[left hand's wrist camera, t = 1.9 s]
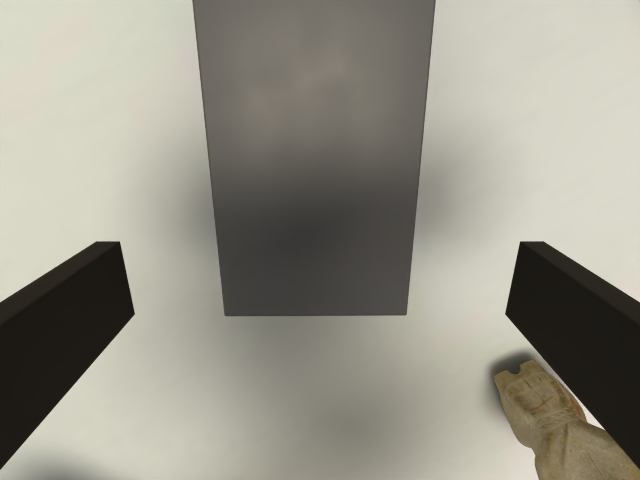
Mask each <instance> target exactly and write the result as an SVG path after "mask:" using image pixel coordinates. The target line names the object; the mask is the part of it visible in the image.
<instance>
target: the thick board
mask: <svg viewBox="0 0 640 480" xmlns="http://www.w3.org/2000/svg"><path fill="white" fill-rule="evenodd" d="M192 1H193V10H194V20H195V30H196V40H197V50H198V59H199V69H200V79H201V89H202V99H203V108H204V118H205V128H206V138H207V148H208V157H209V167H210V177H211V187H212V197H213V206H214V216H215V226H216V236H217V246H218V255H219V265H220V275H221V285H222V295H223V304H224V314H225V316H369V315H406V314H407V304H408V293H409V283H410V272H411V261H412V250H413V239H414V228H415V218H416V207H417V196H418V185H419V174H420V164H421V153H422V142H423V131H424V120H425V109H426V99H427V88H428V77H429V66H430V55H431V44H432V34H433V23H434V12H435V1H436V0H192Z"/></svg>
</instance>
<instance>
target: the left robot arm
mask: <svg viewBox="0 0 640 480" xmlns="http://www.w3.org/2000/svg"><path fill="white" fill-rule="evenodd" d="M134 314H135V313H134V308H133V303H132V298H131V293H130V288H129V284H128V279H127V274H126V269H125V264H124V259H123V255H122V250H121V245H120V242H95V243H93V244H92V245H90V246H89V247H87V248H85V249H84V250H82V251H81V252H79V253H78V254H76V255H74V256H73V257H71V258H70V259H68V260H66V261H65V262H63V263H62V264H60V265H59V266H57V267H55V268H54V269H52V270H51V271H49V272H48V273H46V274H44V275H43V276H41V277H40V278H38V279H36V280H35V281H33V282H32V283H30V284H29V285H27V286H25V287H24V288H22V289H21V290H19V291H18V292H16V293H14V294H13V295H11V296H10V297H8V298H7V299H5V300H3V301H2V302H0V469H1V468H2V467H3V466H4V465H5V464H6V463H7V461H8V460H9V459H10V458H11V457H12V456H13V454H14V453H15V452H16V451H17V450H18V449H19V448H20V446H21V445H22V444H23V443H24V442H25V441H26V439H27V438H28V437H29V436H30V435H31V434H32V432H33V431H34V430H35V429H36V428H37V427H38V426H39V424H40V423H41V422H42V421H43V420H44V419H45V417H46V416H47V415H48V414H49V413H50V412H51V411H52V409H53V408H54V407H55V406H56V405H57V404H58V402H59V401H60V400H61V399H62V398H63V397H64V395H65V394H66V393H67V392H68V391H69V390H70V389H71V387H72V386H73V385H74V384H75V383H76V382H77V380H78V379H79V378H80V377H81V376H82V375H83V373H84V372H85V371H86V370H87V369H88V368H89V367H90V365H91V364H92V363H93V362H94V361H95V360H96V358H97V357H98V356H99V355H100V354H101V353H102V352H103V350H104V349H105V348H106V347H107V346H108V345H109V343H110V342H111V341H112V340H113V339H114V338H115V336H116V335H117V334H118V333H119V332H120V331H121V330H122V328H123V327H124V326H125V325H126V324H127V323H128V321H129V320H130V319H131V318H132V317H133V316H134ZM505 314H506V316H507V317H508V318H509V319H510V320H511V321H512V323H513V324H514V325H515V326H516V327H517V328H518V330H519V331H520V332H521V333H522V334H523V335H524V336H525V338H526V339H527V340H528V341H529V342H530V343H531V345H532V346H533V347H534V348H535V349H536V350H537V352H538V353H539V354H540V355H541V356H542V357H543V358H544V360H545V361H546V362H547V363H548V364H549V365H550V367H551V368H552V369H553V370H554V371H555V372H556V373H557V375H558V376H559V377H560V378H561V379H562V380H563V382H564V383H565V384H566V385H567V386H568V387H569V389H570V390H571V391H572V392H573V393H574V394H575V395H576V397H577V398H578V399H579V400H580V401H581V402H582V404H583V405H584V406H585V407H586V408H587V409H588V411H589V412H590V413H591V414H592V415H593V416H594V417H595V419H596V420H597V421H598V422H599V423H600V424H601V426H602V427H603V428H604V429H605V430H606V431H607V432H608V434H609V435H610V436H611V437H612V438H613V439H614V441H615V442H616V443H617V444H618V445H619V446H620V448H621V449H622V450H623V451H624V452H625V453H626V454H627V456H628V457H629V458H630V459H631V460H632V461H633V463H634V464H635V465H636V466H637V467H638V468H639V469H640V302H638V301H637V300H635V299H633V298H632V297H630V296H629V295H627V294H626V293H624V292H622V291H621V290H619V289H618V288H616V287H615V286H613V285H611V284H610V283H608V282H607V281H605V280H604V279H602V278H600V277H599V276H597V275H596V274H594V273H592V272H591V271H589V270H588V269H586V268H585V267H583V266H581V265H580V264H578V263H577V262H575V261H574V260H572V259H570V258H569V257H567V256H566V255H564V254H562V253H561V252H559V251H558V250H556V249H555V248H553V247H551V246H550V245H548V244H547V243H545V242H520V245H519V250H518V255H517V259H516V264H515V269H514V274H513V279H512V284H511V288H510V293H509V298H508V303H507V308H506V313H505Z"/></svg>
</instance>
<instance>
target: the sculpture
mask: <svg viewBox="0 0 640 480" xmlns="http://www.w3.org/2000/svg"><path fill="white" fill-rule="evenodd" d="M519 369H520V372H519V373H518V374H512V373H511V372H509V371H508V370H505V371H503V372H500V373H498V374H497V375H495V376H494V380H495V383H496V385H497V387H498V390H499V393H500V396H501V403H502V406H503V409H504V412H505V414H506V417H507V419H508V422H509V424H510V426H511V428H512V430H513V433H514V434H515V436H516V438H517V439H518V441H519V442H520V443H521V444H523V445H524V446H526V447H529V448H532V450H533V451H534V453H535V468H536V471H537V475H538V478H539V480H640V469H639V468H638V467H637V466H636V465H635V464H634V463H633V461H632V460H631V459H630V458H629V457H628V456H627V454H626V453H625V452H624V451H623V450H622V449H621V448H620V446H619V445H618V444H617V443H616V442H615V441H614V439H613V438H612V437H611V436H610V435H609V434H608V432H607V431H606V430H603V429H601V428H599V427H596V426H594V425H591V424H589V423H588V422H587V420H586V417H585V414H584V412H583V410H582V408H581V406H580V405H579V403H578V402H577V400H576V399H575V398H574V397H573V395H572V394H571V393H570V392H569V391H568V390H567V389H566V388H565V387H564V386H563V385H562V384H561V383H560V382H559V381H558V380H557V379H555V378H554V377H553V376H551V375H550V374H548V373H547V372H546V371H545V370H544V368H543V367H542V366H541V365H540V364H538V363H537V362H536V361H535V360H530V361H527V362H524V363H522V364H520V366H519Z"/></svg>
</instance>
